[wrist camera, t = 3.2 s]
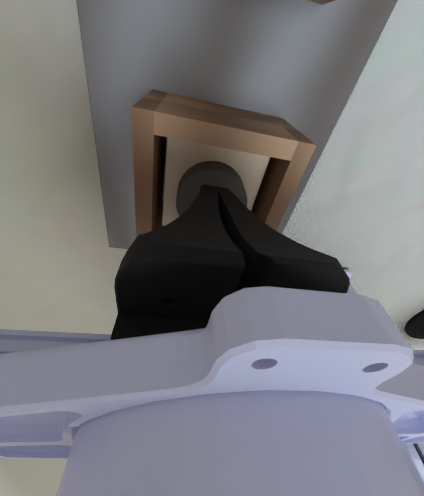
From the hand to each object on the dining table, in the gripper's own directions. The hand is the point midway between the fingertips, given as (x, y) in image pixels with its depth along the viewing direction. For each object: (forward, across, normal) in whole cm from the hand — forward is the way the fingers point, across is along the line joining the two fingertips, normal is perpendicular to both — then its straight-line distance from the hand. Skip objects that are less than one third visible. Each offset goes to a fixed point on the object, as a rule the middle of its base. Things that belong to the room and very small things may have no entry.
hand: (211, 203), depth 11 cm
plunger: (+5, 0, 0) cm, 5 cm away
